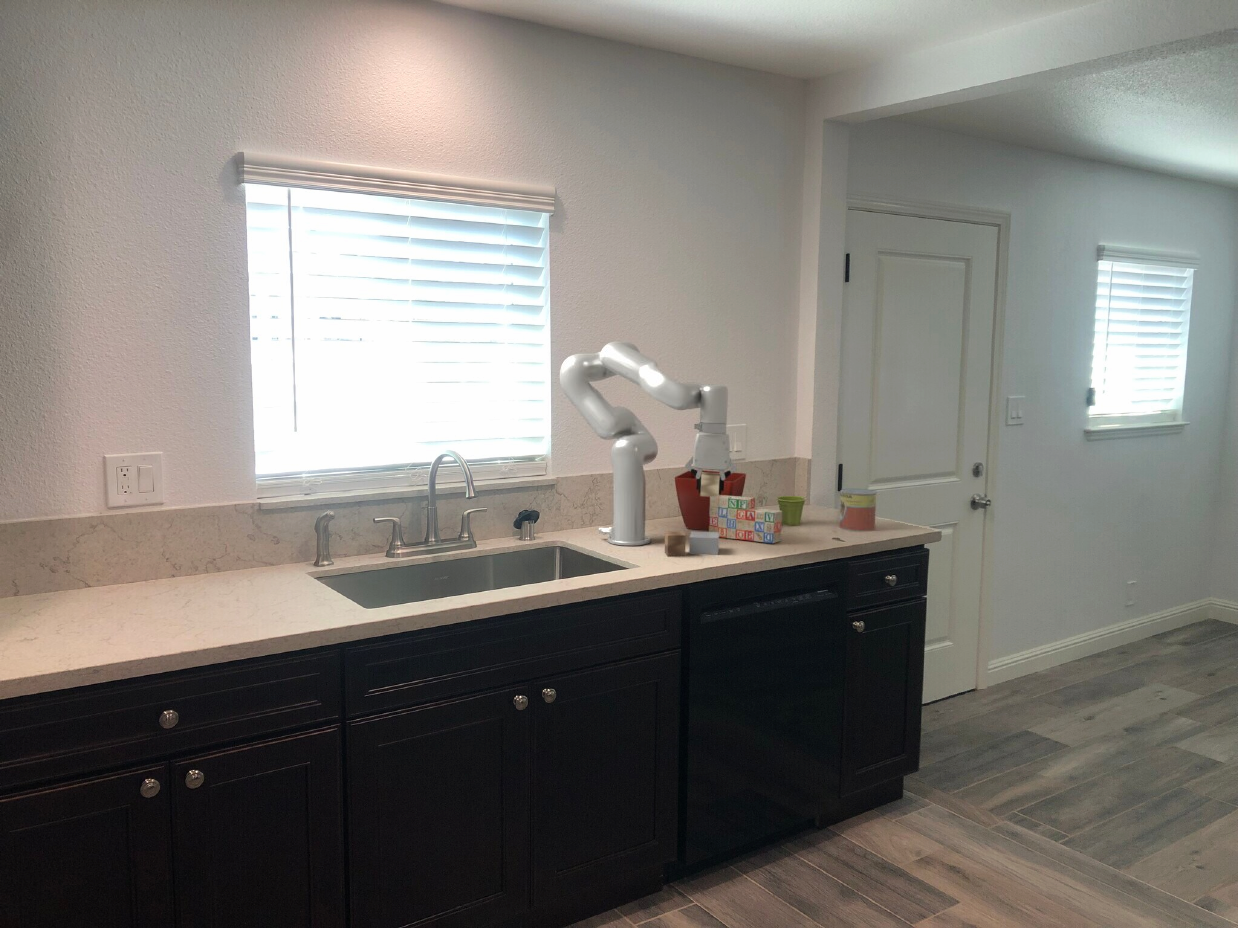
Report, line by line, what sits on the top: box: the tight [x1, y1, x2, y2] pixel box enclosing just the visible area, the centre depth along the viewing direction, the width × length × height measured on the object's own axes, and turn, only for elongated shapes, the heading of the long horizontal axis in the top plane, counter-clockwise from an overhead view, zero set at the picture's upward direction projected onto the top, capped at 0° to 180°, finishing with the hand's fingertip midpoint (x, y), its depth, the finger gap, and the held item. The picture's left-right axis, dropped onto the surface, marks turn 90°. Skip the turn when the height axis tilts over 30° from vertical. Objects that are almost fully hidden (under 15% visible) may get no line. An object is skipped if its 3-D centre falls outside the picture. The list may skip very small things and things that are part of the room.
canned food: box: [838, 488, 877, 533], centre depth 301 cm, size 11×11×12 cm
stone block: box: [688, 531, 720, 556], centre depth 266 cm, size 8×8×5 cm
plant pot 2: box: [776, 495, 807, 527], centre depth 307 cm, size 9×9×9 cm
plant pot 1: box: [674, 469, 747, 531], centre depth 301 cm, size 19×19×17 cm
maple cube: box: [701, 472, 720, 497], centre depth 265 cm, size 5×5×6 cm
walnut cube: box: [664, 531, 687, 558], centre depth 262 cm, size 5×5×6 cm
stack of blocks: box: [708, 495, 782, 544], centre depth 283 cm, size 21×6×12 cm, turn 57°
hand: (710, 492), depth 265 cm, fingers closed on maple cube, 5 cm apart
